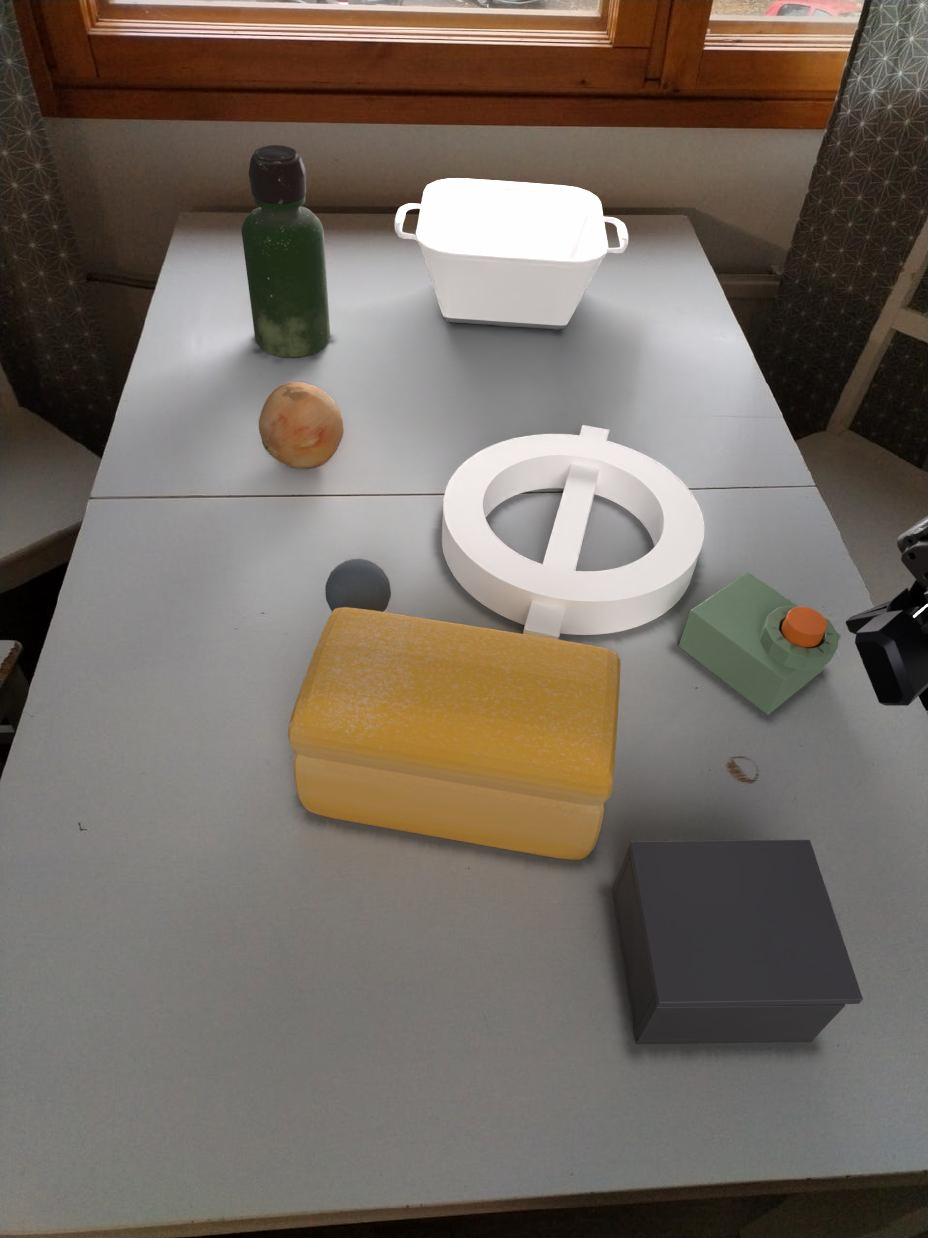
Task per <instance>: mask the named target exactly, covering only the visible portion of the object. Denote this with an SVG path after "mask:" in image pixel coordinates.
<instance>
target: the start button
mask: <svg viewBox="0 0 928 1238" xmlns="http://www.w3.org/2000/svg"><path fill="white" fill-rule="evenodd" d="M824 617H825V616H824V615H822V613H820V612H819V611H817V610H816V609H814V608H811V607H807V606H799V607H795V608H793V609H791V610H790V611H789V612H788V614H787V616H786V618H785V620H784V622H783V625H782V634H783V636H784V637H785V638H786V639H787V640H788V641H789V642H791V643H792V644H794V645H796V646H799V647H803V648H811V647H814V646H816V645H818V644H819V643H820V641H821V639H822V637H823V635H824V633H825V631H826V629H827V622H826V620H825V618H826V617H825V618H824Z"/></svg>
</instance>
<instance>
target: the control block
mask: <svg viewBox="0 0 928 1238" xmlns="http://www.w3.org/2000/svg"><path fill="white" fill-rule="evenodd" d="M795 607H800V606H799V605H797V604H796V603H795V602H793V601H791V600H790V599H789V598H787V597H786V596H784V595H782V594H781V593H779V591H776V590H775V589H773V587H770V586H769V585H768V584H766V583H765V582H763V581H762V580H760V579H759V578H757V577H756V576H754V575H753V574H752V573H750V572H749V571H747V572H745V573H744V574H742V575H741V576H739V577H738V578H737V579H735V580H733V581H731V583H729V584H727V585H726V586H724V587H723V588H721V589H720V590H718V591H717V592H716V593H714V594H713V595H711V596H710V597H708V598H707V599H705V600H704V601H703V602H701V603H699V604H698V605H696V606H695V607H694V608H692V609H691V610H690V611H689V614H688V617H687V620H686V623H685V626H684V628H683V632H682V635H681V638H680V641H679V644H678V647H679V648H680V649H681V650H682V651H684V652H685V653H686V654H688V655H689V656H690V657H691V658H693V659H694V660H696V661H697V662H698V663H699V664H701V665H702V666H703V667H705V668H706V669H707V670H708V671H710V672H711V673H712V674H714V675H715V676H716V677H718V678H719V679H720V680H721V681H723V682H724V683H725V684H727V685H728V686H729V687H731V688H732V689H733V690H735V691H736V692H737V693H738V694H740V695H741V696H742V697H743V698H744V699H746V700H748V701H749V702H750V703H751V704H753V705H754V706H756V707H757V708H758V709H759V710H760V711H762V712H763V713H765V714H766V715H767V716H768V715H769V716H770V714H771V713H772V712H774V711H775V710H776V709H778V708H779V707H780V706H781V705H782V704H784V703H785V702H786V701H787V700H788V699H789V698H791V697H792V696H794V695H795V694H796V693H797V692H798V691H800V690H801V689H802V688H803V687H805V686H806V685H807V684H808V683H809V682H810V681H812V680H813V679H815V677H817V676H818V675H820V673H822V672H823V671H824V668H825V667H826V665H827V664H829V663H830V662H831V661H832V659H833V658H834V656H835V654H836V652H837V650H838V648H839V647H838V646H839V640H840V638H841V634H840V633H839V632H838V631H837V630H836V628H835V627H834V625H833V623H832V622H831V620H830V619H828V618H827V617H825V616H823V617H824V618H825V620H826V622H827V629H826V631H825V633H824V635H823V637H822V639H821V641H820V643H819V644H818V645H816V646H814V647H811V648H803V647H799V646H796V645H794V644H792V643H791V642H789V641H788V640H787V639H786V638H785V637H784V636H783V634H782V625H783V622H784V620H785V618H786V616H787V614H788V612H789V611H790V610H791V609H793V608H795Z"/></svg>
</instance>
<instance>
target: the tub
mask: <svg viewBox="0 0 928 1238" xmlns="http://www.w3.org/2000/svg"><path fill="white" fill-rule="evenodd" d="M414 209H415V210H417V209H419V214H418V219H417V225H416V229H415V233H408V232H404V231H403V227H404V226H403V225H404V222H405V219H406V215H407V214H406V213H407V212H408V211H410V210H414ZM605 223H610V224H613V225H614V226H615V228H616V233H617V238H618V240H619V247H609V242H608V236H607V230H606V224H605ZM394 232H395V233H396V235H397V237H399V238H401V239H402V240H403V239H405V240H415V241H416V242H417V244H418V245H419V248H420V251H421V253H422V256H423V260H424V263H425V265H426V269H427V272H428V275H429V278H430V282H431V285H432V287H433V291H434V293H435V296H436V300H437V303H438V306H439V309H440V312H441V315H442V317H443V318H444V320H446V321H447V322H449V323H454V324H456V323H457V324H469V325H485V326H496V327H508V328H509V327H511V328H527V329H529V328H530V329H544V330H557V331H559V330H562V329H564V328H566V327H567V325H568V324H569V323H570V321H571V319H572V317H573V315H574V313H575V312H576V309H578V306H579V304H580V303H581V300H582V298H583V296H584V295H585V293H586V291H587V289H588V287H589V286H590V284H591V282H592V280H593V278H594V276H595V275H596V272H597V270H598V269H599V267H600V265H601V263H602V262H603V260H604V258H605V257H606V256H607V254H623V253H624V252H625V251H626V248H627V247H628V245H629V232H628V228H627V226H626V224H625V222H623V221H621V219H618V218H616V217H612V216H604V211H603V206H602V201H601V200H600V198H599V197H598V196H597V195H596V194H594V193H592V192H591V191H589V190H586V189H583V188H581V187H578V186H569V185H562V184H550V183H549V184H548V183H535V182H524V181H523V182H522V181H521V182H520V181H507V180H491V179H480V178H479V179H478V178H477V179H476V178H459V177H456V178H451V177H450V178H444V179H437V180H435V181H432V182H431V183H429V184H427V185H426V186H425V188H424V190H423V192H422V197H421V203H413V202H412V203H406V204H404V205H402V206H400V207H399V208H398V209H397V212H396V214H395V217H394Z"/></svg>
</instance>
